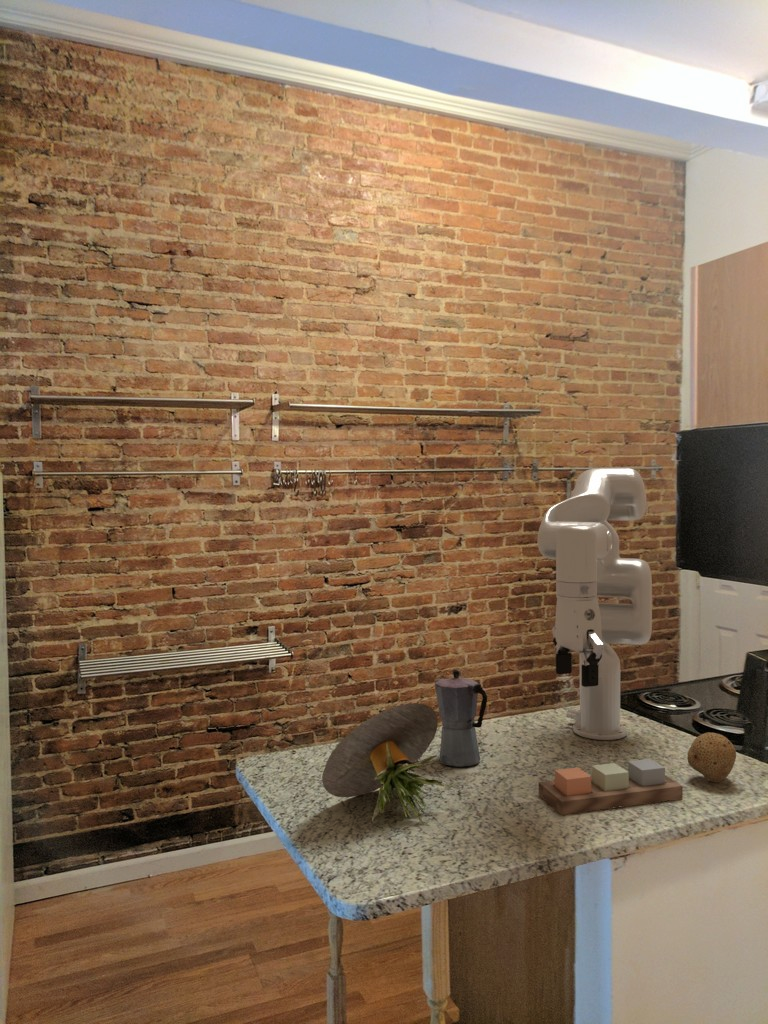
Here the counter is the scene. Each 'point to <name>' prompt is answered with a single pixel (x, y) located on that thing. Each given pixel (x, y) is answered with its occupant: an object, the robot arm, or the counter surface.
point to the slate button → (646, 772)
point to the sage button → (610, 777)
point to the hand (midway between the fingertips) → (576, 679)
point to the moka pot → (459, 719)
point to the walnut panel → (609, 796)
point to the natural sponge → (712, 756)
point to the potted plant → (384, 757)
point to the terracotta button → (572, 781)
